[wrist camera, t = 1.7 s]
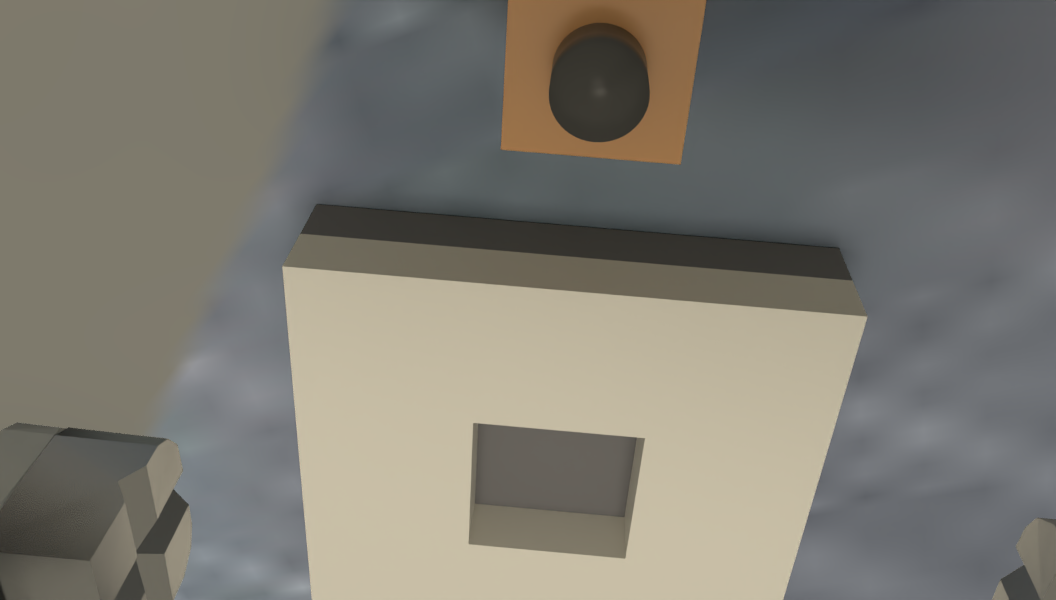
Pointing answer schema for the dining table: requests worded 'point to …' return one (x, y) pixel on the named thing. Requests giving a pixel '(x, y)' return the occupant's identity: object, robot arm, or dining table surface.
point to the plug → (600, 77)
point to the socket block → (559, 407)
